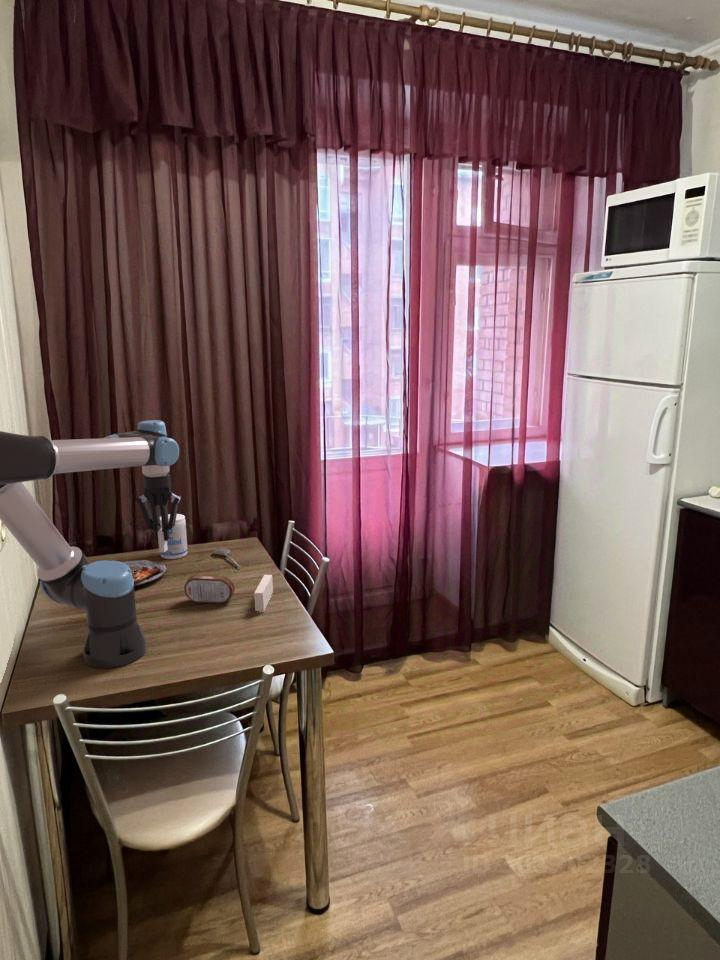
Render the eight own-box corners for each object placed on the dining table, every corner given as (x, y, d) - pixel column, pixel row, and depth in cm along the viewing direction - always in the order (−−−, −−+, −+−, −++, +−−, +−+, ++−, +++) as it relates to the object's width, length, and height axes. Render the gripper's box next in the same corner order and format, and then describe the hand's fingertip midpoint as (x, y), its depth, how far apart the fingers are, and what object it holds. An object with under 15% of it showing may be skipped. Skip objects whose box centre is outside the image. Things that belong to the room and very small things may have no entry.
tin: (235, 600, 193) (234, 574, 191) (232, 604, 190) (230, 578, 188) (187, 599, 194) (185, 573, 192) (184, 603, 191) (182, 577, 189)
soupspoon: (227, 552, 238) (210, 556, 235) (225, 544, 237) (208, 548, 234) (248, 568, 220) (230, 573, 216) (247, 559, 219) (229, 563, 216)
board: (263, 612, 184) (262, 593, 183) (255, 612, 184) (254, 593, 183) (273, 592, 198) (272, 574, 196) (265, 592, 198) (264, 574, 197)
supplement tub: (163, 561, 226) (160, 522, 223) (158, 554, 234) (154, 515, 231) (190, 557, 231) (187, 518, 227) (184, 549, 239) (181, 512, 235)
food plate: (181, 573, 214) (180, 564, 213) (122, 599, 195) (121, 588, 195) (134, 562, 228) (132, 553, 227) (75, 584, 209) (73, 574, 208)
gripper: (182, 471, 187) (189, 546, 192) (139, 471, 188) (147, 546, 193) (174, 476, 180) (180, 555, 185) (129, 476, 181) (137, 555, 186)
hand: (163, 550), depth 189 cm, fingers closed
